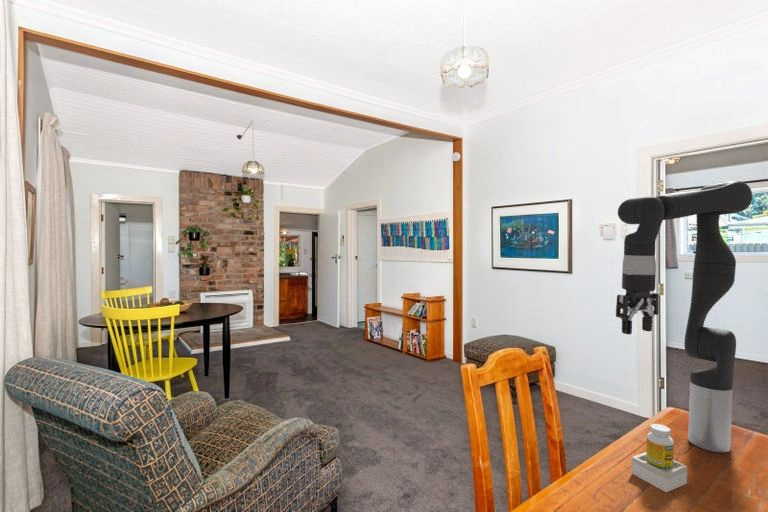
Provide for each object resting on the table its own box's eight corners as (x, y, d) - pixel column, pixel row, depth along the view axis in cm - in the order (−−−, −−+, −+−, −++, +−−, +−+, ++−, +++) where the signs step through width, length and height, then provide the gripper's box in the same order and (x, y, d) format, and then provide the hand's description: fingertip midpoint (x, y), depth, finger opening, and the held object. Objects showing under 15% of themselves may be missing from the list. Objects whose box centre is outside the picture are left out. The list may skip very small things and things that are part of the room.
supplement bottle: (651, 457, 98) (653, 420, 98) (676, 468, 94) (678, 429, 94) (641, 464, 96) (643, 425, 95) (667, 475, 91) (668, 435, 91)
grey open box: (651, 465, 100) (652, 449, 100) (686, 483, 93) (687, 466, 93) (631, 473, 97) (632, 456, 97) (666, 492, 90) (666, 474, 89)
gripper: (641, 270, 111) (639, 327, 112) (607, 272, 105) (606, 331, 106) (669, 272, 104) (667, 332, 105) (635, 274, 98) (633, 338, 99)
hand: (636, 332), depth 105 cm, fingers open, 8 cm apart
